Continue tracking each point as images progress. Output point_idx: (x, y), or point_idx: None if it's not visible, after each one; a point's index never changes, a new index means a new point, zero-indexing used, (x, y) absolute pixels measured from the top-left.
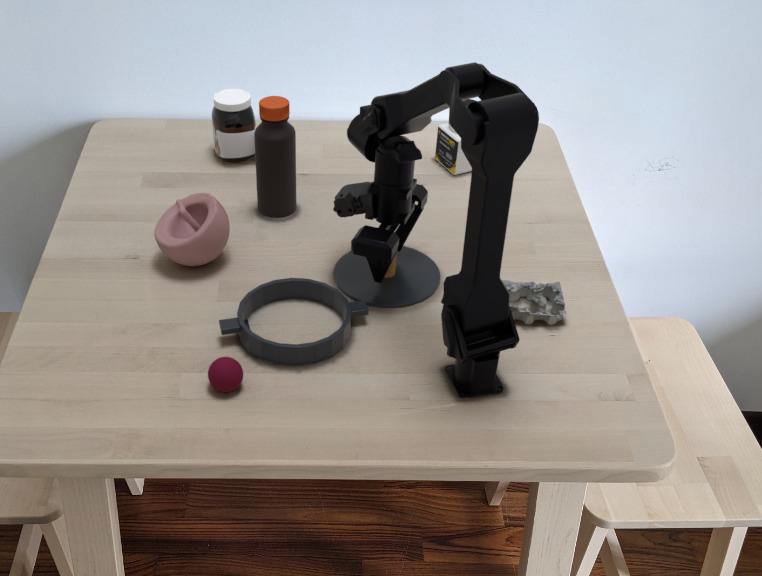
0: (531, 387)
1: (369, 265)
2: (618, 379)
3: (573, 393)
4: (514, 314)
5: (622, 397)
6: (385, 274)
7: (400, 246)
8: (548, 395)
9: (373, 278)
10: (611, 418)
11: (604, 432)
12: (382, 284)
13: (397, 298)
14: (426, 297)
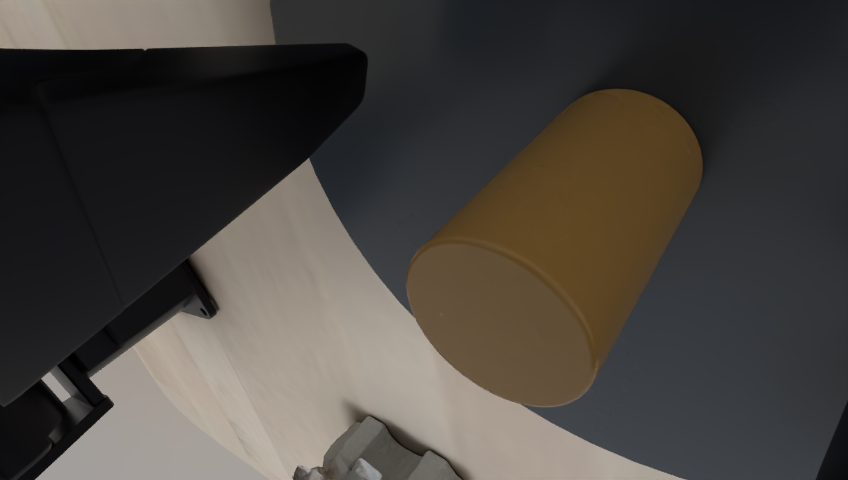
0: (203, 349)
1: (124, 53)
2: (280, 473)
3: (223, 398)
4: (356, 474)
5: (247, 448)
6: (297, 162)
7: (835, 447)
8: (200, 362)
9: (316, 45)
10: (203, 406)
11: (177, 381)
12: (462, 94)
13: (349, 161)
14: (401, 297)
